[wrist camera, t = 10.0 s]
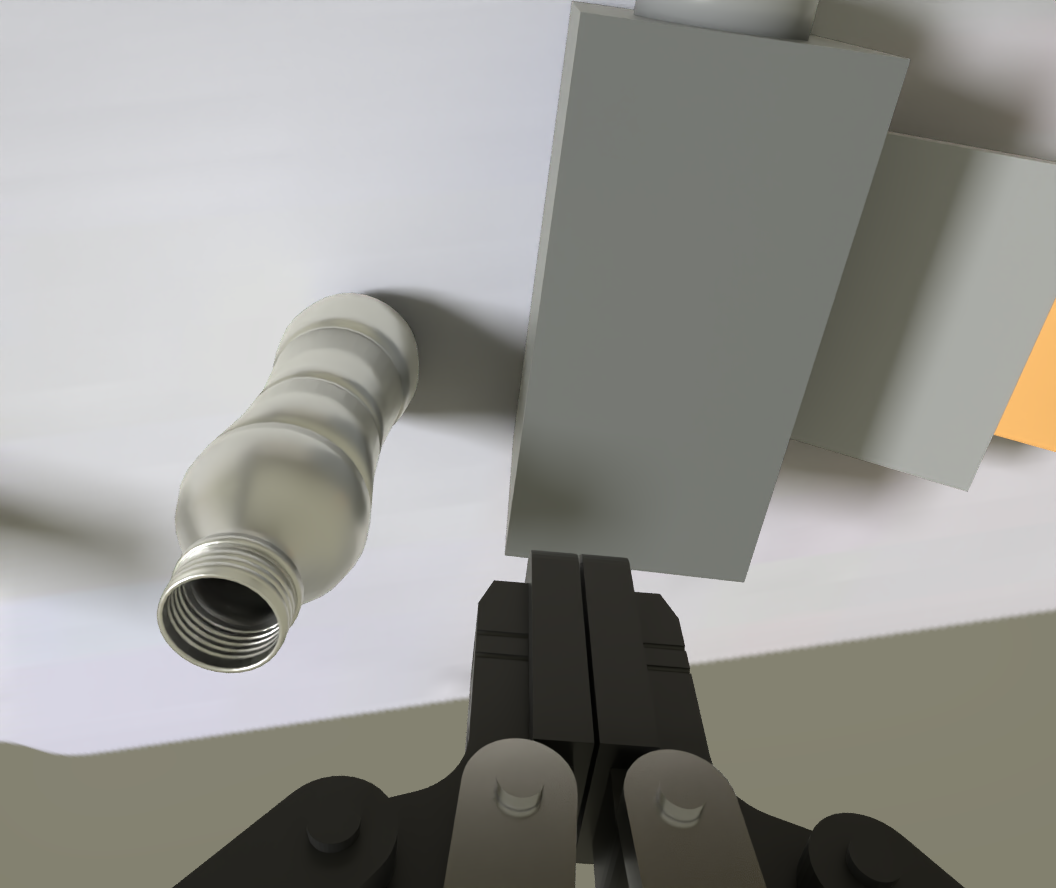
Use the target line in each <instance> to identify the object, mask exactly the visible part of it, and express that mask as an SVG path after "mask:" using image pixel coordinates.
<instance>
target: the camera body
mask: <svg viewBox="0 0 1056 888" xmlns="http://www.w3.org/2000/svg"><path fill="white" fill-rule="evenodd" d="M818 3H819V0H636V3H635V9H634V10H632V9H625V8H618V7H611V6H604V5H597V4H590V3H583V2H576V1H572V3H571V11H570V18H569V26H568V33H567V41H566V48H565V56H564V63H563V70H562V78H561V85H560V93H559V100H558V108H557V115H556V123H555V130H554V138H553V145H552V152H551V160H550V167H549V175H548V182H547V190H546V197H545V205H544V212H543V220H542V227H541V234H540V242H539V249H538V257H537V264H536V272H535V279H534V287H533V294H532V302H531V309H530V316H529V324H528V331H527V339H526V346H525V354H524V361H523V369H522V376H521V383H520V391H519V398H518V406H517V413H516V421H515V428H514V436H513V448H512V462H511V476H510V490H509V503H508V517H507V531H506V545H505V555H507V556H516V557H524V558H529V553H530V550H539V551H551V552H563V553H574V554H577V555H578V558H579V555H580V554H588V555H600V556H612V557H624V558H628V560H629V563H630V569H631V570H639V571H648V572H657V573H665V574H674V575H683V576H692V577H701V578H709V579H718V580H727V581H736V582H744V581H745V578H746V575H747V572H748V568H749V565H750V562H751V559H752V556H753V553H754V550H755V546H756V543H757V540H758V537H759V534H760V531H761V528H762V524H763V521H764V518H765V515H766V512H767V509H768V506H769V502H770V499H771V496H772V493H773V490H774V487H775V484H776V481H777V477H778V474H779V471H780V468H781V465H782V462H783V459H784V455H785V452H786V449H787V446H788V443H789V440H790V437H791V433H792V430H793V427H794V424H795V421H796V418H797V415H798V411H799V408H800V405H801V402H802V399H803V396H804V393H805V390H806V386H807V383H808V380H809V377H810V374H811V371H812V368H813V364H814V361H815V358H816V355H817V352H818V349H819V346H820V342H821V339H822V336H823V333H824V330H825V327H826V324H827V320H828V317H829V314H830V311H831V308H832V305H833V302H834V299H835V295H836V292H837V289H838V286H839V283H840V280H841V277H842V273H843V270H844V267H845V264H846V261H847V258H848V255H849V251H850V248H851V245H852V242H853V239H854V236H855V233H856V229H857V226H858V223H859V220H860V217H861V214H862V211H863V208H864V204H865V201H866V198H867V195H868V192H869V189H870V186H871V182H872V179H873V176H874V173H875V170H876V167H877V164H878V160H879V157H880V154H881V151H882V148H883V145H884V142H885V138H886V135H887V132H888V129H889V126H890V123H891V120H892V117H893V113H894V110H895V107H896V104H897V101H898V98H899V95H900V91H901V88H902V85H903V82H904V79H905V76H906V73H907V69H908V66H909V63H910V60H911V59H909V58H904V57H900V56H896V55H892V54H888V53H884V52H880V51H876V50H872V49H868V48H864V47H860V46H856V45H852V44H848V43H844V42H840V41H836V40H832V39H828V38H824V37H819V36H814V35H810V33H811V29H812V26H813V22H814V18H815V14H816V10H817V6H818Z"/></svg>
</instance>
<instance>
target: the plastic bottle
mask: <svg viewBox="0 0 1056 888" xmlns="http://www.w3.org/2000/svg"><path fill="white" fill-rule="evenodd" d="M418 378H419V358H418V349H417V344H416V341H415V338H414V335H413V333H412V331H411V329H410V328H409V326H408V324H407V323H406V321H405V320H404V319H403V318H402V317H401V315H400V314H399V313H398V312H396V311H395V310H394V309H393V308H392V307H390V306H389V305H387V304H386V303H384V302H382V301H380V300H378V299H376V298H373V297H370V296H367V295H363V294H356V293H342V294H336V295H332V296H328V297H325V298H323V299H321V300H319V301H317V302H315V303H314V304H312V305H311V306H309V307H308V308H306V309H305V310H303V311H302V312H301V313H300V314H299V315H297V316H296V317H295V318H294V319H293V320H292V322H291V323H290V324H289V325H288V327H287V328H286V330H285V332H284V334H283V336H282V339H281V341H280V344H279V346H278V349H277V352H276V356H275V360H274V365H273V370H272V372H271V374H270V376H269V379H268V381H267V383H266V385H265V387H264V389H263V391H262V392H261V393H260V395H259V396H258V397H257V398H256V400H255V401H254V402H253V403H252V404H251V406H250V407H249V408H248V409H247V411H246V412H245V413H244V414H243V415H242V416H241V417H240V418H239V419H237V420H236V421H235V422H234V423H233V424H232V425H231V426H230V427H228V428H227V429H226V430H225V431H224V432H223V433H222V434H221V435H219V436H218V437H217V438H216V439H215V440H214V441H213V442H212V443H210V444H209V445H208V446H207V447H206V448H205V450H204V451H203V452H202V453H201V454H200V455H199V456H198V457H197V459H196V460H195V461H194V462H193V464H192V465H191V466H190V467H189V469H188V470H187V472H186V474H185V476H184V478H183V480H182V482H181V485H180V490H179V495H178V501H177V507H176V513H175V529H176V535H177V538H178V542H179V545H180V548H181V551H182V556H181V558H180V559H179V561H178V562H177V564H176V566H175V568H174V571H173V573H172V579H171V580H170V582H169V584H168V585H167V587H166V588H165V590H164V592H163V594H162V596H161V598H160V602H159V605H158V610H157V620H158V625H159V628H160V632H161V634H162V635H163V637H164V639H165V641H166V642H167V643H168V644H169V646H170V647H171V648H172V649H173V650H174V651H175V652H176V653H177V654H179V655H180V656H181V657H182V658H184V659H185V660H187V661H189V662H190V663H192V664H194V665H197V666H199V667H201V668H204V669H207V670H211V671H215V672H223V673H240V672H245V671H250V670H253V669H256V668H258V667H261V666H262V665H264V664H265V663H267V662H268V661H270V660H271V659H272V658H273V657H274V656H275V655H276V653H277V652H278V650H279V649H280V647H281V646H282V644H283V642H284V640H285V638H286V635H287V632H288V630H289V628H290V627H291V626H292V624H293V623H294V621H295V619H296V618H297V616H298V613H299V611H300V608H301V605H303V604H305V603H308V602H310V601H312V600H315V599H317V598H320V597H321V596H323V595H324V594H326V593H328V592H329V591H331V590H332V589H333V588H334V587H335V586H336V585H337V584H338V583H339V582H340V581H341V580H342V579H343V578H344V577H345V576H346V575H347V574H348V572H349V571H350V570H351V569H352V568H353V567H354V566H355V564H356V562H357V561H358V559H359V558H360V556H361V554H362V552H363V549H364V546H365V543H366V540H367V536H368V531H369V526H370V519H371V505H372V493H373V482H374V475H375V471H376V467H377V463H378V459H379V454H380V451H381V447H382V445H383V443H384V441H385V439H386V437H387V436H388V434H389V432H390V430H391V428H392V426H393V425H394V424H395V423H396V422H397V421H398V420H399V419H400V417H401V416H402V414H403V413H404V411H405V410H406V408H407V407H408V405H409V403H410V401H411V400H412V398H413V396H414V394H415V391H416V388H417V385H418Z"/></svg>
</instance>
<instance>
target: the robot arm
mask: <svg viewBox="0 0 1056 888" xmlns="http://www.w3.org/2000/svg"><path fill="white" fill-rule="evenodd" d="M576 863H583V864H594V875H595V887H596V888H964V887H963V886H962V885H961V884H959V883H958V882H957V881H956V880H955V879H953V878H952V877H951V876H950V875H949V874H947V873H946V872H945V871H944V870H943V869H941V868H940V867H939V866H938V865H937V864H935V863H934V862H933V861H932V860H931V859H930V858H928V857H927V856H926V855H925V854H924V853H922V852H921V851H920V850H919V849H918V848H916V847H915V846H914V845H913V844H912V843H911V842H909V841H908V840H907V839H906V838H904V837H903V836H902V835H901V834H899V833H898V832H897V831H895V830H894V829H893V828H891V827H889V826H888V825H886V824H884V823H883V822H880V821H878V820H876V819H874V818H871V817H868V816H864V815H860V814H854V813H839V814H834V815H831V816H828V817H826V818H824V819H823V820H821V821H820V822H819V823H818V824H817V825H816V826H815V827H814V829H813V831H811V830H808V829H806V828H803V827H801V826H798V825H795V824H792V823H790V822H787V821H784V820H781V819H779V818H776V817H773V816H770V815H768V814H766V813H763V812H761V811H759V810H757V809H755V808H753V807H752V806H750V805H748V804H747V803H745V802H744V801H743V800H741V799H740V798H738V797H737V796H736V794H735V792H734V790H733V788H732V786H731V785H730V783H729V781H728V780H727V779H726V778H725V777H724V775H723V774H722V773H721V772H720V771H719V770H718V769H717V768H715V767H714V766H713V764H712V761H711V758H710V755H709V750H708V746H707V741H706V737H705V733H704V728H703V724H702V719H701V715H700V710H699V706H698V702H697V698H696V693H695V688H694V684H693V680H692V676H691V674H690V666H689V662H688V657H687V653H686V651H685V644H684V640H683V635H682V631H681V627H680V622H679V618H678V617H677V616H676V615H675V613H674V612H673V611H672V609H671V608H670V607H669V605H668V604H667V603H666V601H665V600H664V599H663V598H662V596H661V595H660V594H653V593H641V592H634V587H633V581H632V575H631V569H630V563H629V560H628V558H624V557H612V556H600V555H588V554H580V555H579V558H578V555H577V554H574V553H563V552H551V551H539V550H530V553H529V558H528V564H527V571H526V579H525V583H519V582H507V581H495V580H494V581H493V583H492V584H491V586H490V587H489V588H488V590H487V591H486V593H485V594H484V596H483V597H482V598H481V600H480V601H479V603H478V613H477V622H476V632H475V642H474V651H473V661H472V670H471V682H470V695H469V709H468V722H467V736H466V749H465V755H464V757H463V759H462V760H461V762H460V764H459V765H458V766H457V767H456V768H455V770H454V771H453V772H452V773H451V774H449V775H448V776H447V777H446V778H445V779H443V780H441V781H440V782H438V783H437V784H434V785H433V786H430V787H428V788H425V789H422V790H419V791H416V792H411V793H407V794H403V795H398V796H394V797H390V798H388V797H387V796H386V795H385V794H384V793H383V792H382V791H381V790H380V789H379V788H378V787H376V786H375V785H373V784H372V783H369V782H367V781H365V780H363V779H359V778H355V777H349V776H331V777H326V778H321V779H318V780H315V781H312V782H310V783H308V784H306V785H304V786H302V787H300V788H299V789H297V790H296V791H294V792H293V793H292V794H290V795H289V796H288V797H287V798H285V799H284V800H283V801H281V802H280V803H279V804H278V805H276V806H275V807H274V808H273V809H271V810H270V811H269V812H268V813H266V814H265V815H264V816H262V817H261V818H260V819H259V820H257V821H256V822H255V823H254V824H252V825H251V826H250V827H249V828H247V829H246V830H245V831H243V832H242V833H241V834H240V835H238V836H237V837H236V838H235V839H233V840H232V841H231V842H230V843H228V844H227V845H226V846H225V847H223V848H222V849H221V850H220V851H218V852H217V853H216V854H215V855H213V856H212V857H211V858H209V859H208V860H207V861H206V862H204V863H203V864H202V865H200V866H199V867H198V868H197V869H195V870H194V871H193V872H192V873H190V874H189V875H188V876H187V877H185V878H184V879H183V880H181V881H180V882H179V883H178V884H176V885H175V886H174V887H173V888H575V881H576Z"/></svg>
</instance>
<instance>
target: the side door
mask: <svg viewBox="0 0 1056 888" xmlns="http://www.w3.org/2000/svg"><path fill="white" fill-rule="evenodd" d="M993 435H997V436H1000V437H1004V438H1007V439H1011V440H1015V441H1018V442H1022V443H1025V444H1029V445H1032V446H1036V447H1040V448H1043V449H1047V450H1050V451H1054V452H1056V162H1054V161H1049V160H1043V159H1038V158H1032V157H1027V156H1021V155H1016V154H1011V153H1005V152H1000V151H994V150H989V149H983V148H978V147H972V146H967V145H961V144H956V143H951V142H945V141H940V140H934V139H929V138H923V137H918V136H912V135H907V134H902V133H896V132H891V131H888V132H887V135H886V138H885V142H884V145H883V148H882V151H881V154H880V157H879V160H878V164H877V167H876V170H875V173H874V176H873V179H872V182H871V186H870V189H869V192H868V195H867V198H866V201H865V204H864V208H863V211H862V214H861V217H860V220H859V223H858V226H857V229H856V233H855V236H854V239H853V242H852V245H851V248H850V251H849V255H848V258H847V261H846V264H845V267H844V270H843V273H842V277H841V280H840V283H839V286H838V289H837V292H836V295H835V299H834V302H833V305H832V308H831V311H830V314H829V317H828V320H827V324H826V327H825V330H824V333H823V336H822V339H821V342H820V346H819V349H818V352H817V355H816V358H815V361H814V364H813V368H812V371H811V374H810V377H809V380H808V383H807V386H806V390H805V393H804V396H803V399H802V402H801V405H800V408H799V411H798V415H797V418H796V421H795V424H794V427H793V430H792V433H791V437H790V439H793V440H797V441H800V442H803V443H807V444H810V445H813V446H817V447H820V448H823V449H827V450H830V451H833V452H837V453H840V454H843V455H847V456H850V457H853V458H857V459H860V460H863V461H867V462H870V463H873V464H877V465H880V466H883V467H887V468H890V469H893V470H897V471H900V472H903V473H907V474H910V475H913V476H917V477H920V478H923V479H927V480H930V481H933V482H937V483H940V484H943V485H947V486H950V487H953V488H957V489H960V490H963V491H967V492H968V490H969V487H970V485H971V483H972V481H973V479H974V476H975V474H976V472H977V470H978V468H979V465H980V463H981V461H982V459H983V457H984V454H985V452H986V450H987V448H988V446H989V443H990V441H991V439H992V437H993Z"/></svg>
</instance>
